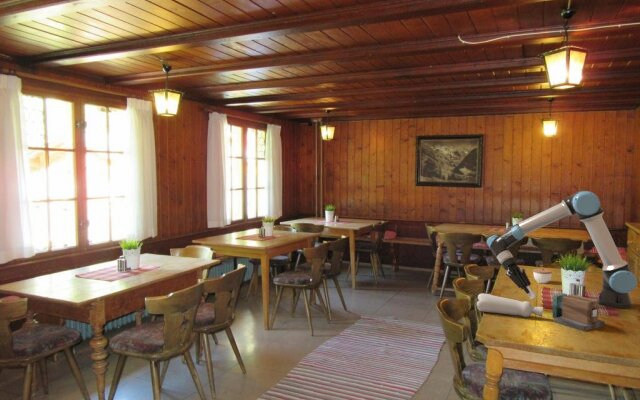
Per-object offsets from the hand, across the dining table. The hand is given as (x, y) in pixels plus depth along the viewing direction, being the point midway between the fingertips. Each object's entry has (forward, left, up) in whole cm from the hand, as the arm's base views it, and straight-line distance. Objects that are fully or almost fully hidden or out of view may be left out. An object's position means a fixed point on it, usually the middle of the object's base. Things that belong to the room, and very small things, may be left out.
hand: (533, 298), depth 238 cm
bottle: (+17, -1, -7) cm, 19 cm away
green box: (0, +22, -6) cm, 23 cm away
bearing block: (0, +24, -6) cm, 25 cm away
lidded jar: (-58, -37, -7) cm, 69 cm away
